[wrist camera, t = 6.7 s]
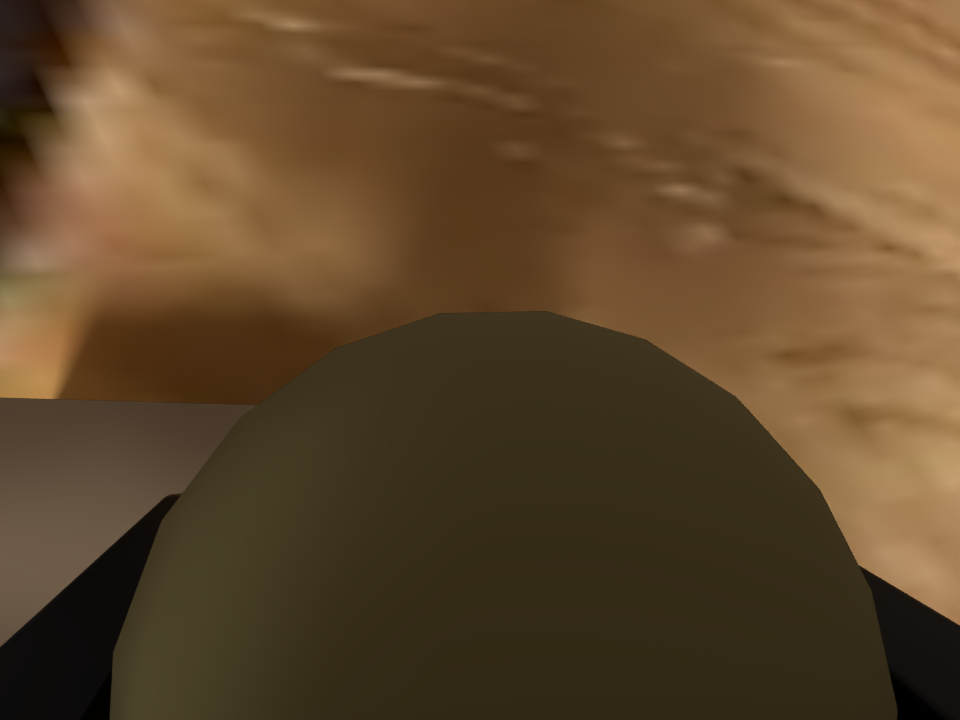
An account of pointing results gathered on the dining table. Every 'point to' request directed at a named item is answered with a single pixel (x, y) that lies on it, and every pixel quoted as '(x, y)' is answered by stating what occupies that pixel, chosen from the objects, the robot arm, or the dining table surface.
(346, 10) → the dining table surface
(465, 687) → the cork
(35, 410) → the walnut plinth
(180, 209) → the dining table surface
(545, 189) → the dining table surface
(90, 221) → the dining table surface
